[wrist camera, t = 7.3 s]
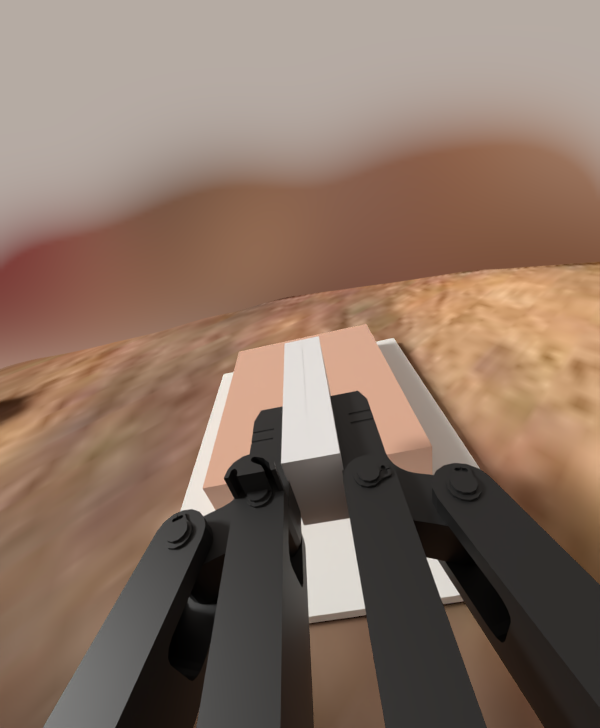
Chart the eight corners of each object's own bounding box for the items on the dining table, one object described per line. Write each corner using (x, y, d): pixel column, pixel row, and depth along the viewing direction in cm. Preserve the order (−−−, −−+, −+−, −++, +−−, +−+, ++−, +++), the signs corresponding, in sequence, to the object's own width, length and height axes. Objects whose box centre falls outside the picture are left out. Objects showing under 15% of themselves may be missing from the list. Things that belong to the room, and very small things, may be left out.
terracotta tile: (432, 477, 17) (369, 346, 30) (432, 446, 16) (366, 323, 28) (218, 515, 18) (247, 372, 31) (202, 488, 17) (239, 351, 29)
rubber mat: (551, 588, 12) (554, 581, 12) (145, 646, 14) (139, 641, 13) (394, 343, 30) (393, 338, 30) (225, 379, 32) (223, 374, 31)
